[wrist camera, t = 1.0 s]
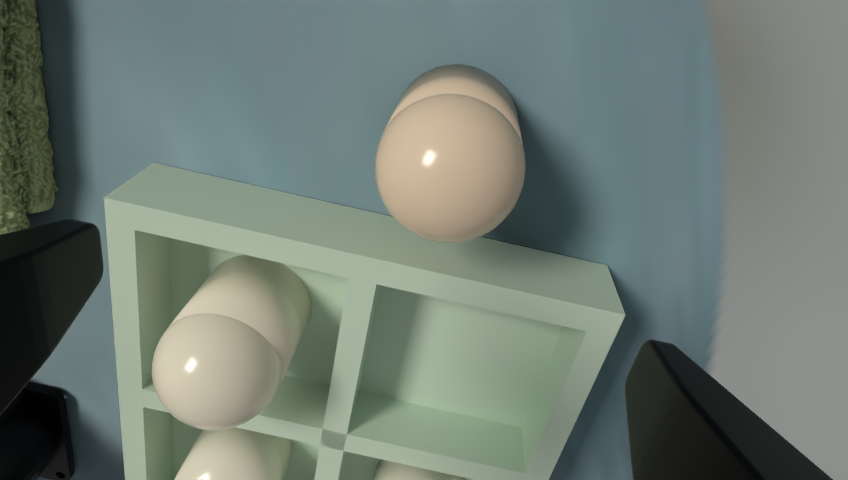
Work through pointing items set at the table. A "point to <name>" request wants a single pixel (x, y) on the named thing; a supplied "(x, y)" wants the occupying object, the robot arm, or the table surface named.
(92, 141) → the table surface
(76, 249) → the robot arm
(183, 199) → the egg tray
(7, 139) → the washcloth
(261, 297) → the egg
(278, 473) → the egg
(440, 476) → the egg
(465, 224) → the brown egg
